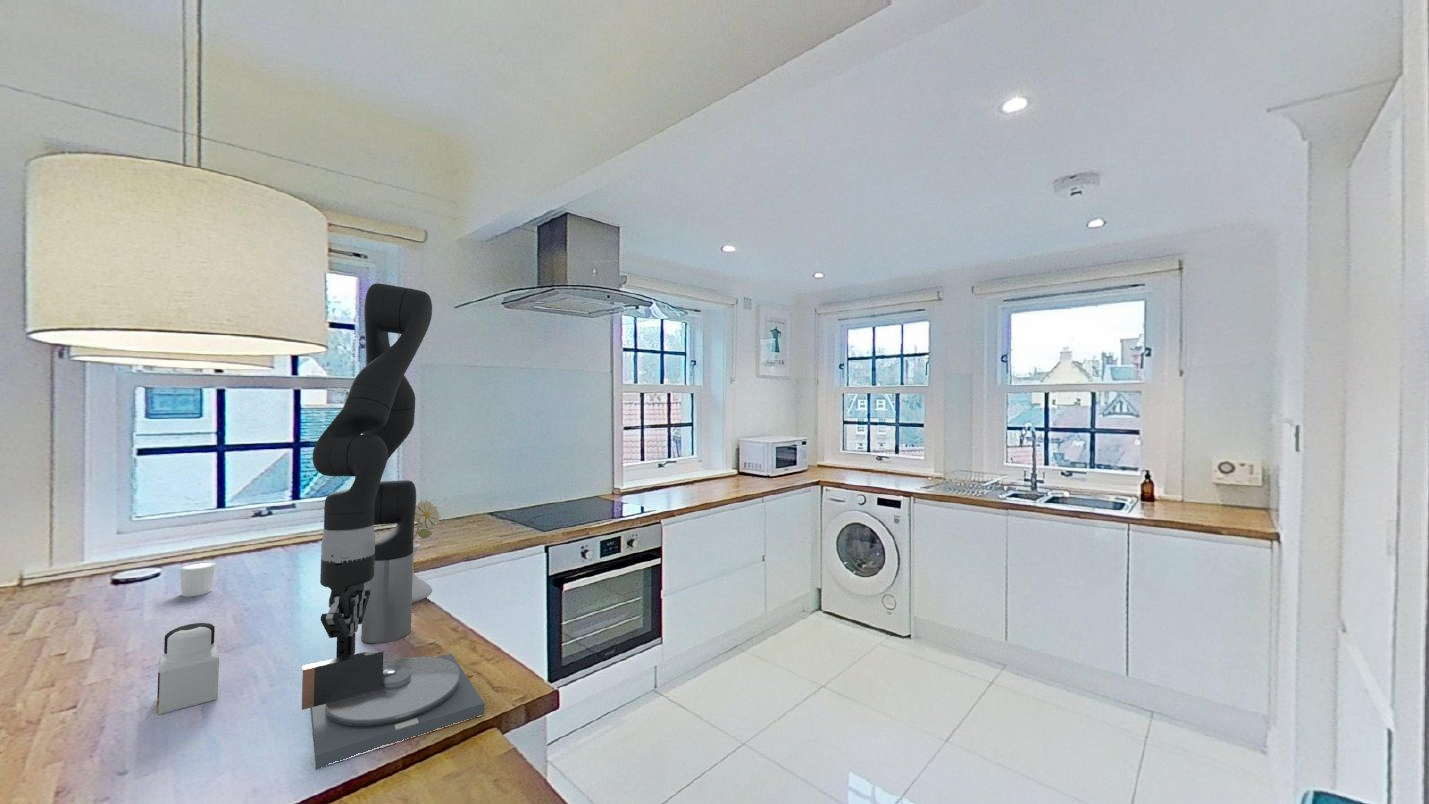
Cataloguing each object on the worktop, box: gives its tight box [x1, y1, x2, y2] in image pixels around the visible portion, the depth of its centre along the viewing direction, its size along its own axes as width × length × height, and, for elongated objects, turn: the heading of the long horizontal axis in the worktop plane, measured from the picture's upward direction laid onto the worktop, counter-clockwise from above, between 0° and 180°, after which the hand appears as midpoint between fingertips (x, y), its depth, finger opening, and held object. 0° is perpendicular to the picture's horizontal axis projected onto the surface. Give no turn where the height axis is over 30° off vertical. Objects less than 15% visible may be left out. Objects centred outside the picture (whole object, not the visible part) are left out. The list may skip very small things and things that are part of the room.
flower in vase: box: [412, 500, 441, 603], centre depth 139 cm, size 13×11×25 cm
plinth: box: [310, 652, 485, 770], centre depth 89 cm, size 22×22×2 cm
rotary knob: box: [301, 648, 459, 726], centre depth 89 cm, size 22×19×8 cm
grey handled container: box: [156, 622, 220, 716], centre depth 91 cm, size 7×7×12 cm
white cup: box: [179, 561, 217, 597], centre depth 140 cm, size 7×7×7 cm
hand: (345, 657), depth 91 cm, fingers closed
